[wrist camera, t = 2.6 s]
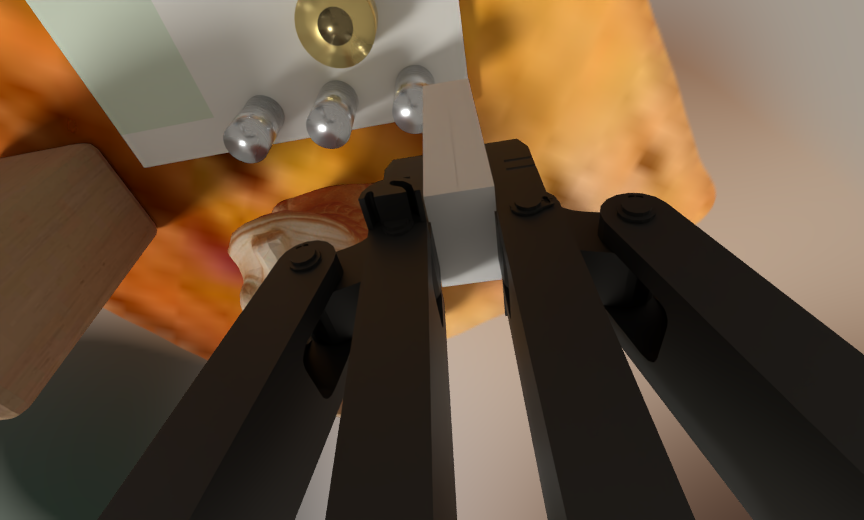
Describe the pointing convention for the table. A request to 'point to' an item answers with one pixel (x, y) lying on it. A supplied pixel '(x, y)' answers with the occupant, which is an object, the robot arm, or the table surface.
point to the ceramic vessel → (297, 232)
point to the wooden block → (58, 259)
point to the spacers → (323, 116)
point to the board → (233, 64)
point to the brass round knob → (336, 30)
